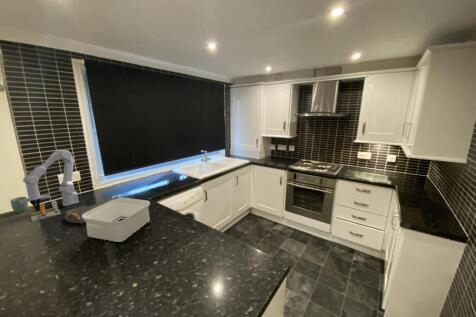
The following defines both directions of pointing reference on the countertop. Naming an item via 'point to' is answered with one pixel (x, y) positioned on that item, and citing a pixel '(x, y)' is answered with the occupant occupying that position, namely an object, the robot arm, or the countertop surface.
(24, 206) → the cup
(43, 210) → the slider leg
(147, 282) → the countertop surface
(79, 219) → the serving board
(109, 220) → the white sink basin
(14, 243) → the countertop surface
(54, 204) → the rail
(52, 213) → the bolt plate
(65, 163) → the robot arm
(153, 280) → the countertop surface
